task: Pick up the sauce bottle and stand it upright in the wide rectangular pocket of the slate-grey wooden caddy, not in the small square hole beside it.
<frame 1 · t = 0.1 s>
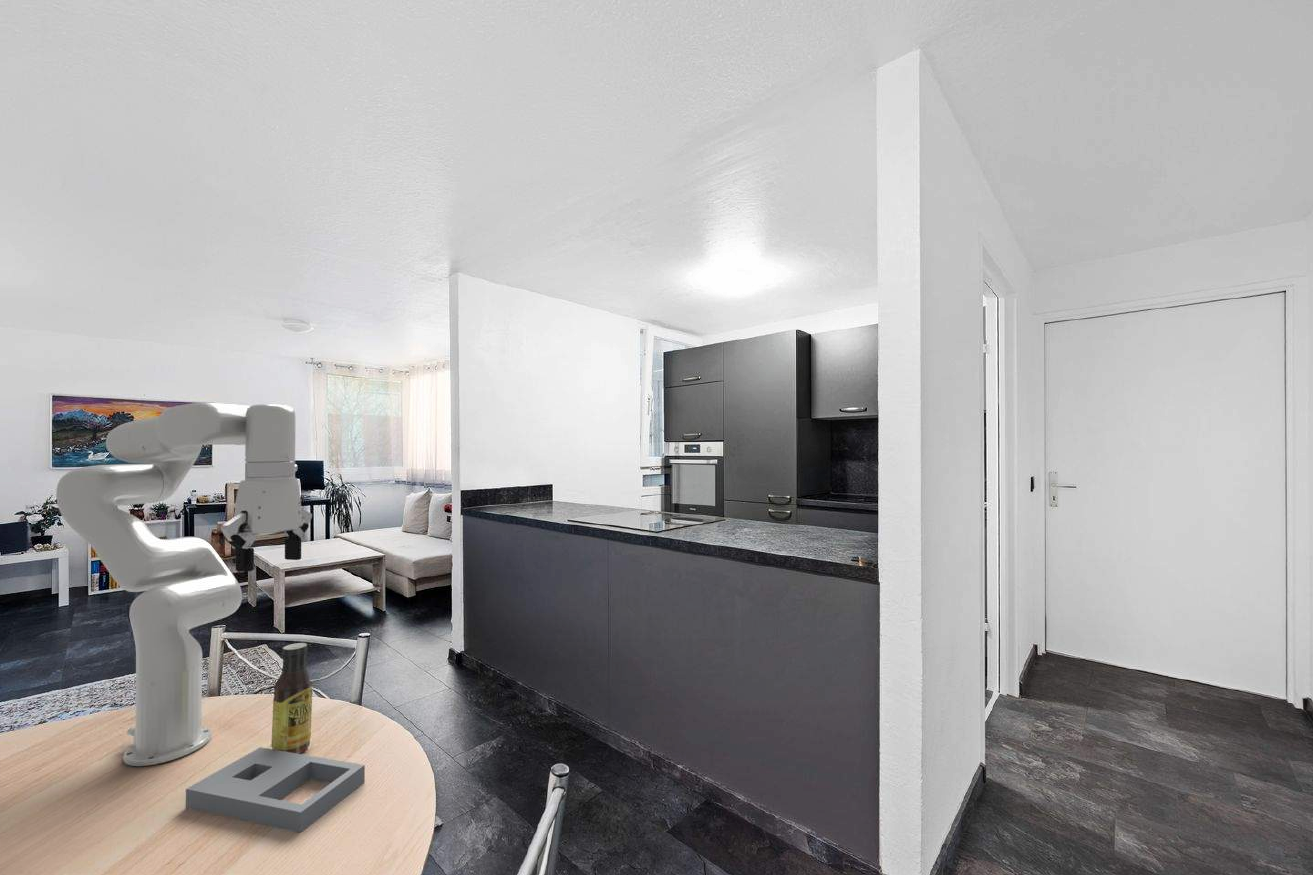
hand: (269, 564, 99), 37 cm above the table, tool pointing down, fingers open, 9 cm apart
caddy: (278, 794, 90), on the table
sauce bottle: (291, 752, 103), on the table
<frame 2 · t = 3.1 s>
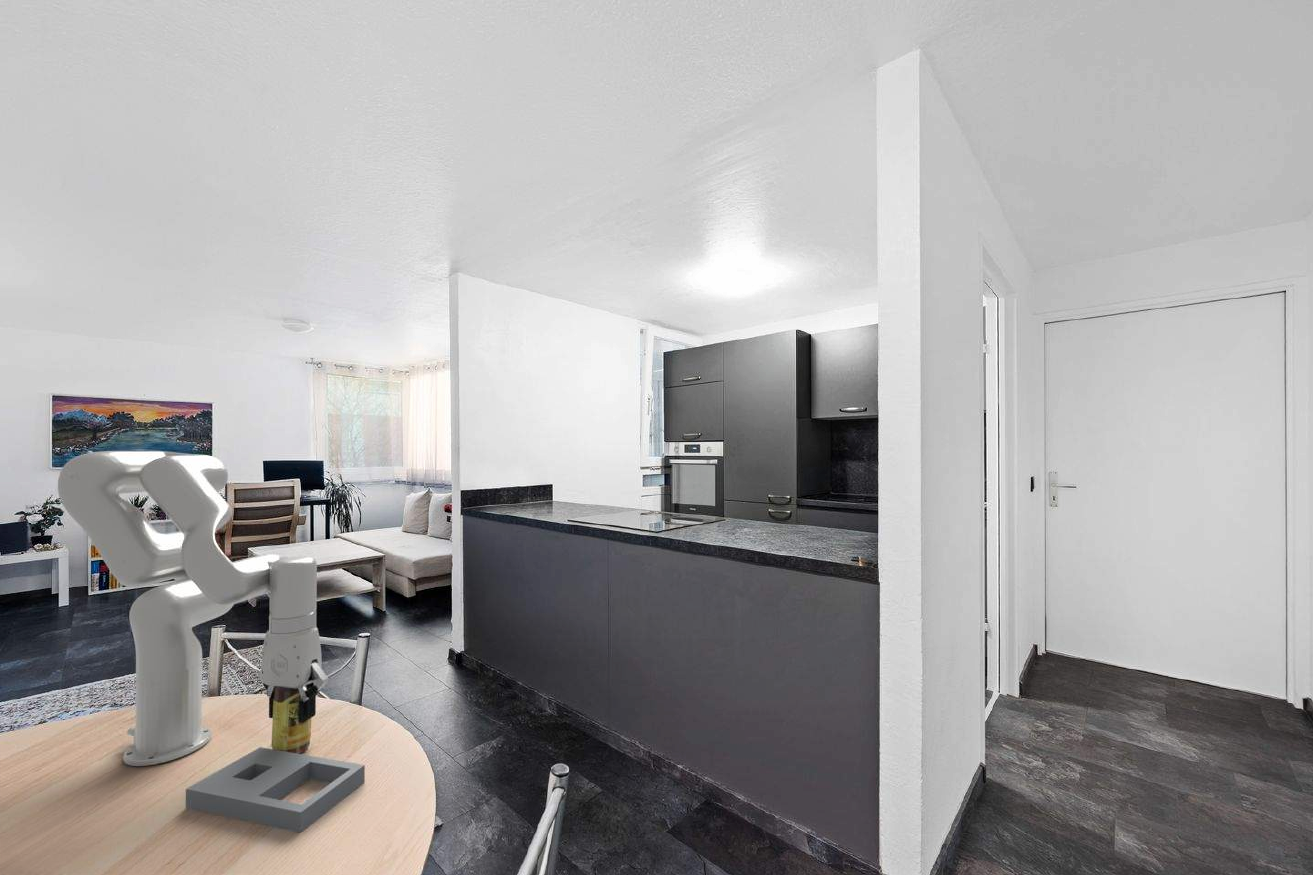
hand: (292, 715, 103), 7 cm above the table, tool pointing down, fingers closed on sauce bottle, 6 cm apart
sauce bottle: (291, 752, 103), on the table, touching gripper
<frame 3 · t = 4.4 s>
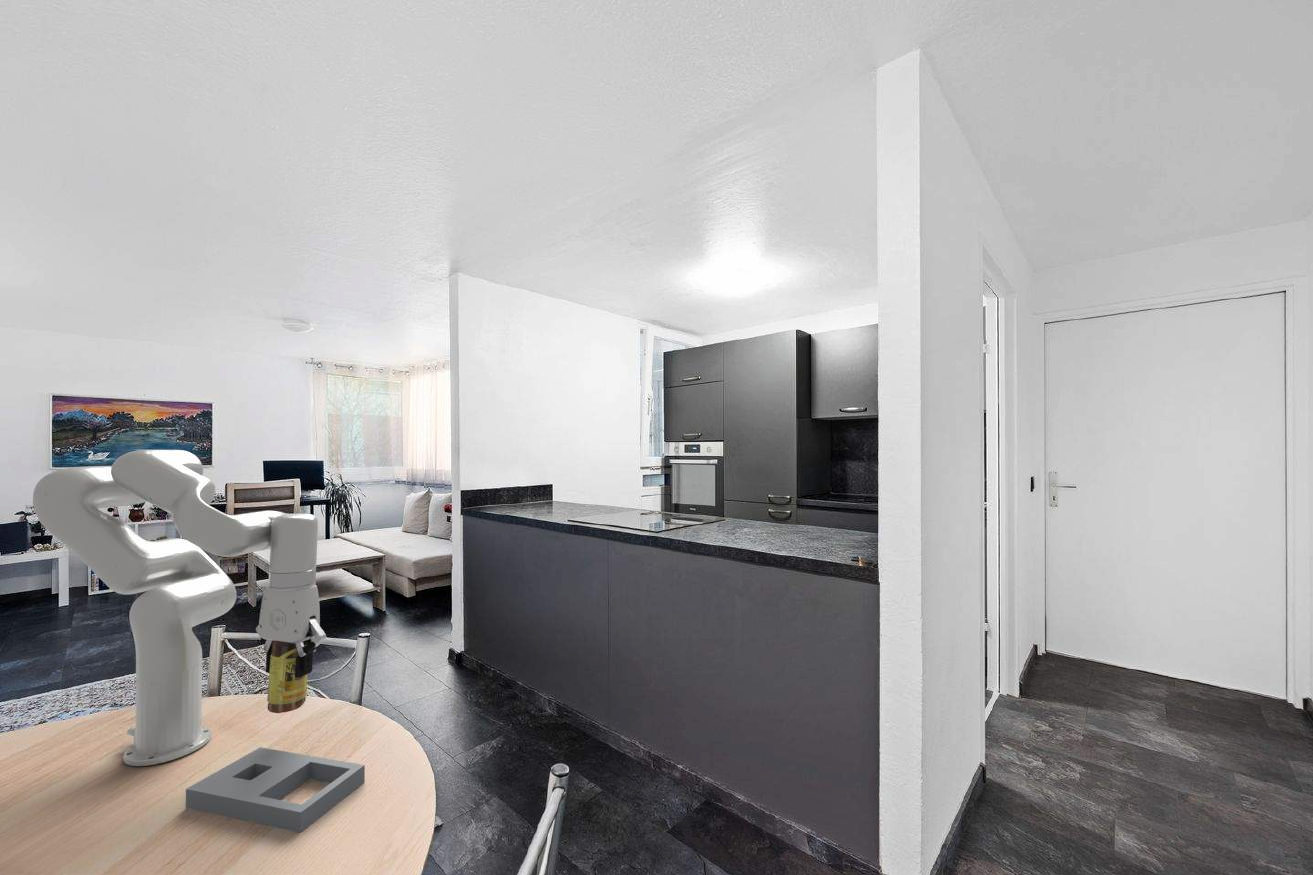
hand: (288, 671, 104), 15 cm above the table, tool pointing down, fingers closed on sauce bottle, 6 cm apart
sauce bottle: (287, 707, 103), point 8 cm above the table, touching gripper
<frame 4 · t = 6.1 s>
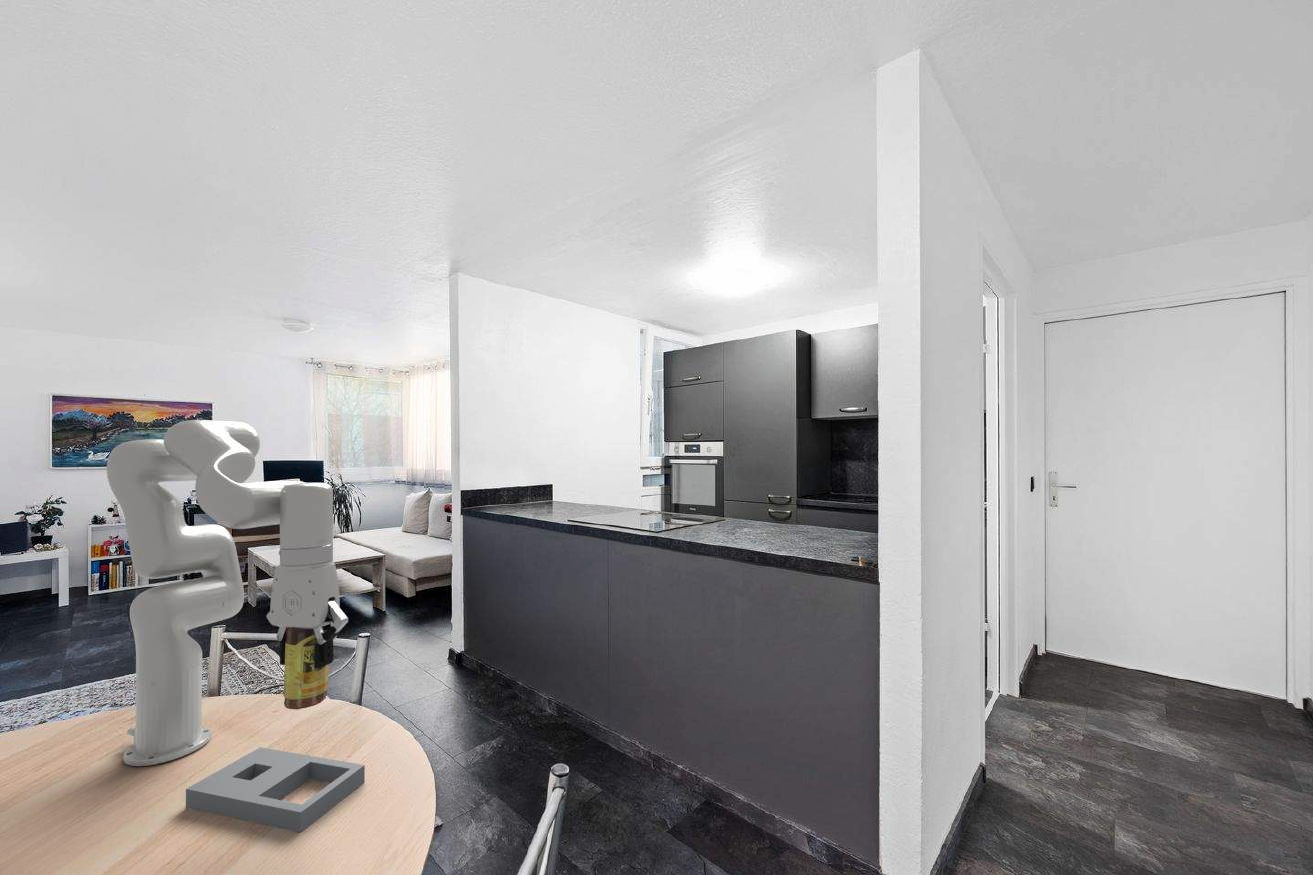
hand: (306, 662, 91), 22 cm above the table, tool pointing down, fingers closed on sauce bottle, 6 cm apart
sauce bottle: (306, 703, 90), point 15 cm above the table, touching gripper
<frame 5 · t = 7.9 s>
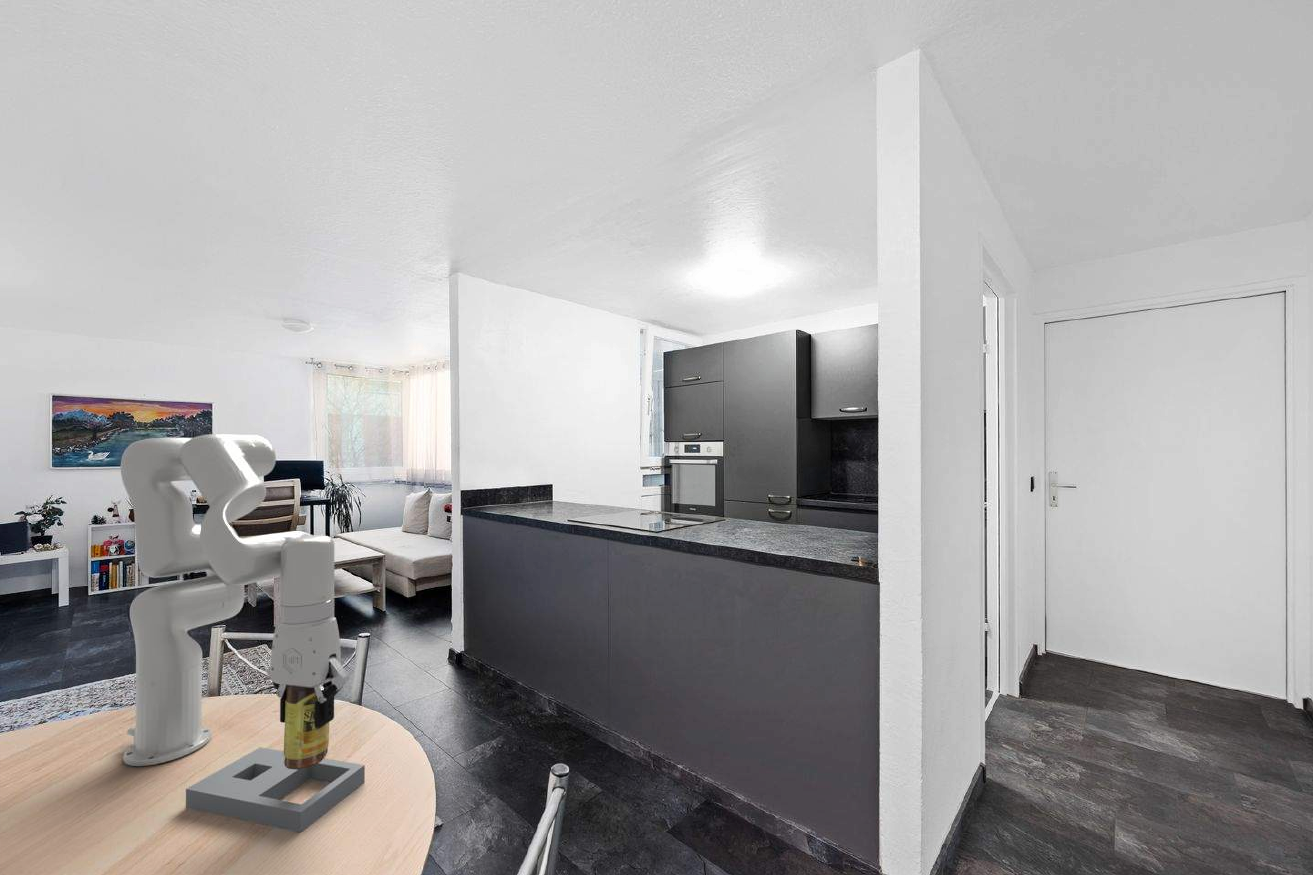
hand: (307, 719, 89), 13 cm above the table, tool pointing down, fingers closed on sauce bottle, 6 cm apart
sauce bottle: (307, 761, 89), point 6 cm above the table, touching gripper
when the fingers open (8 cm above the table, at t = 9.4 s): sauce bottle drops 1 cm, resting in caddy.
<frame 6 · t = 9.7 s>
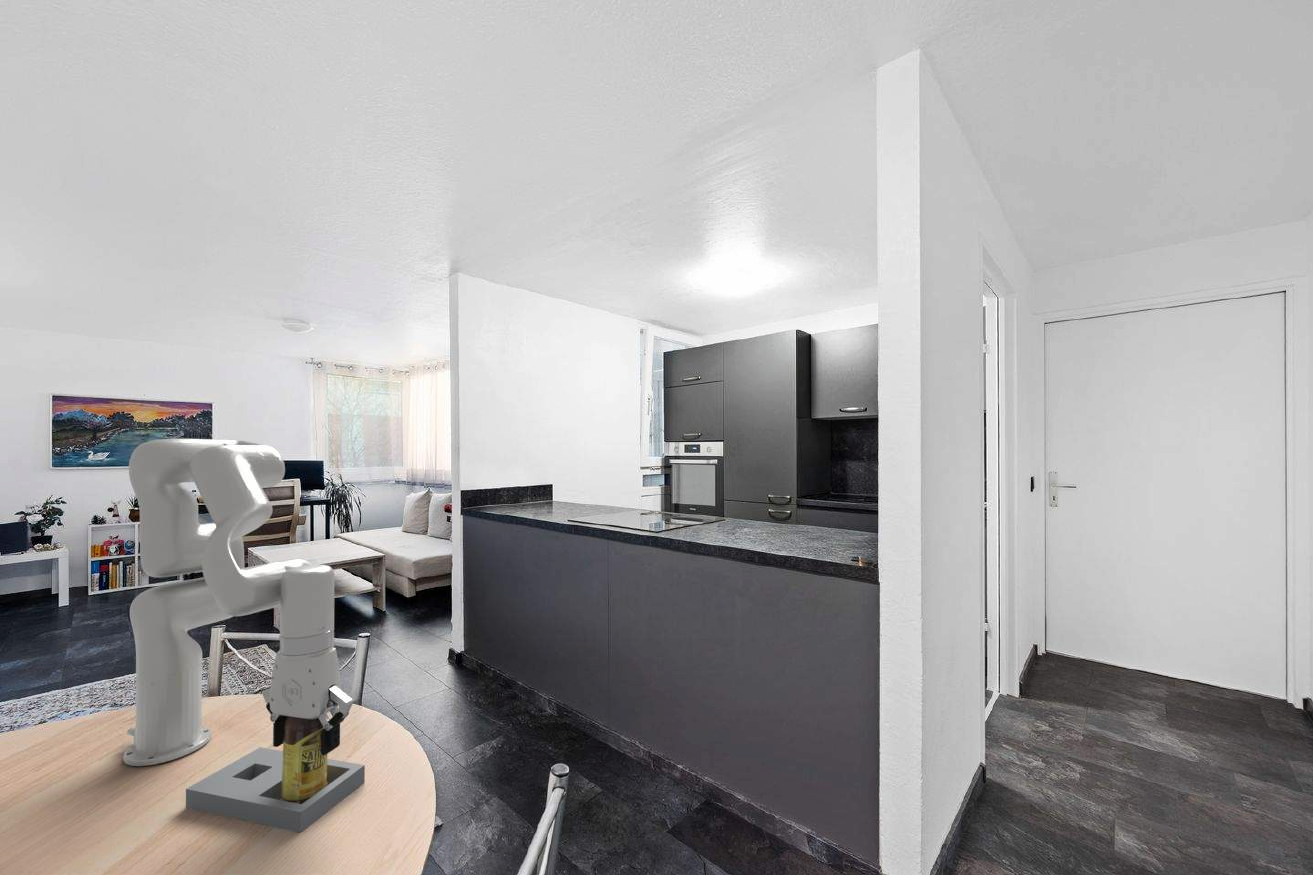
hand: (306, 746, 89), 9 cm above the table, tool pointing down, fingers open, 9 cm apart
sauce bottle: (305, 800, 89), resting in caddy
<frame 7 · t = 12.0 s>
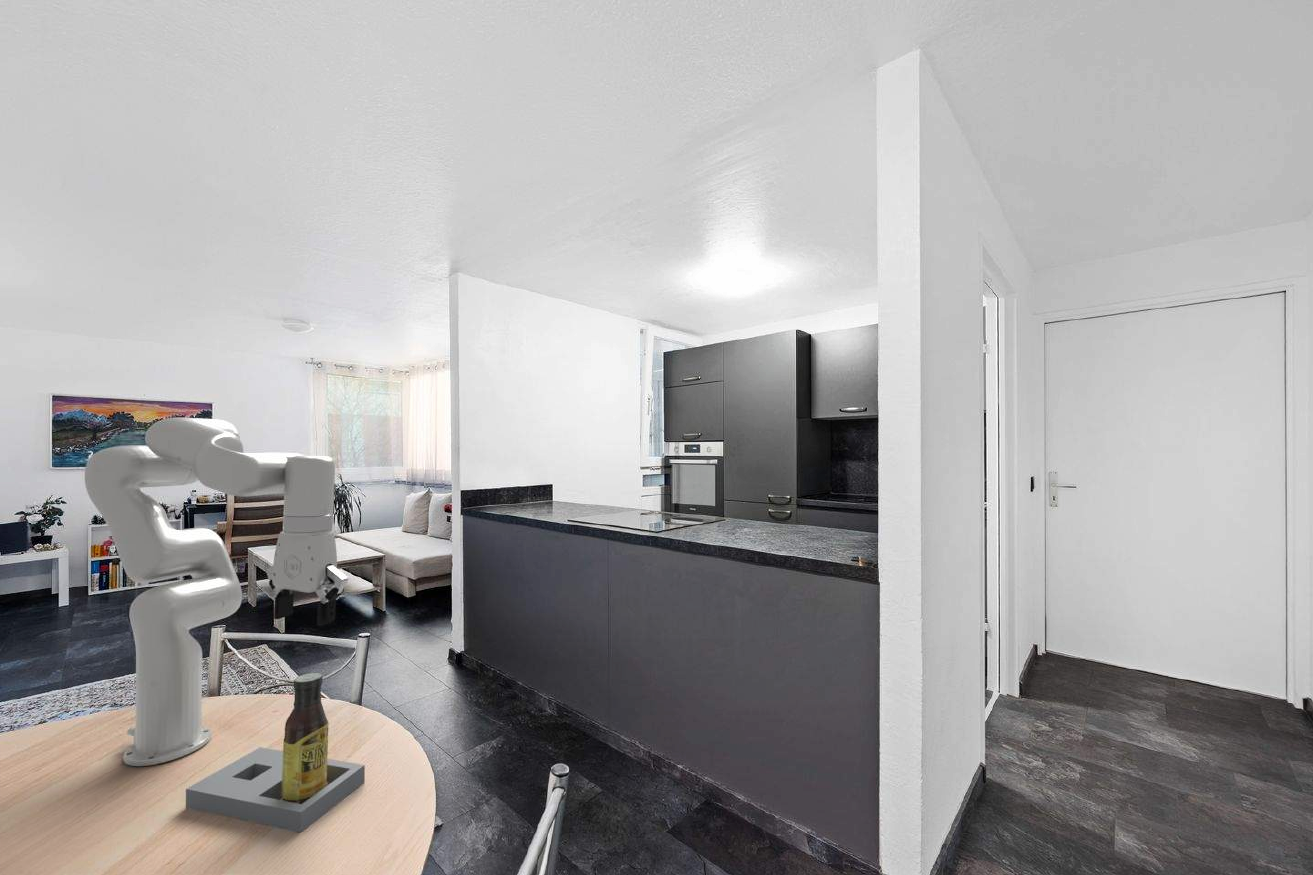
hand: (304, 620, 96), 27 cm above the table, tool pointing down, fingers open, 9 cm apart
nothing on the table moved.
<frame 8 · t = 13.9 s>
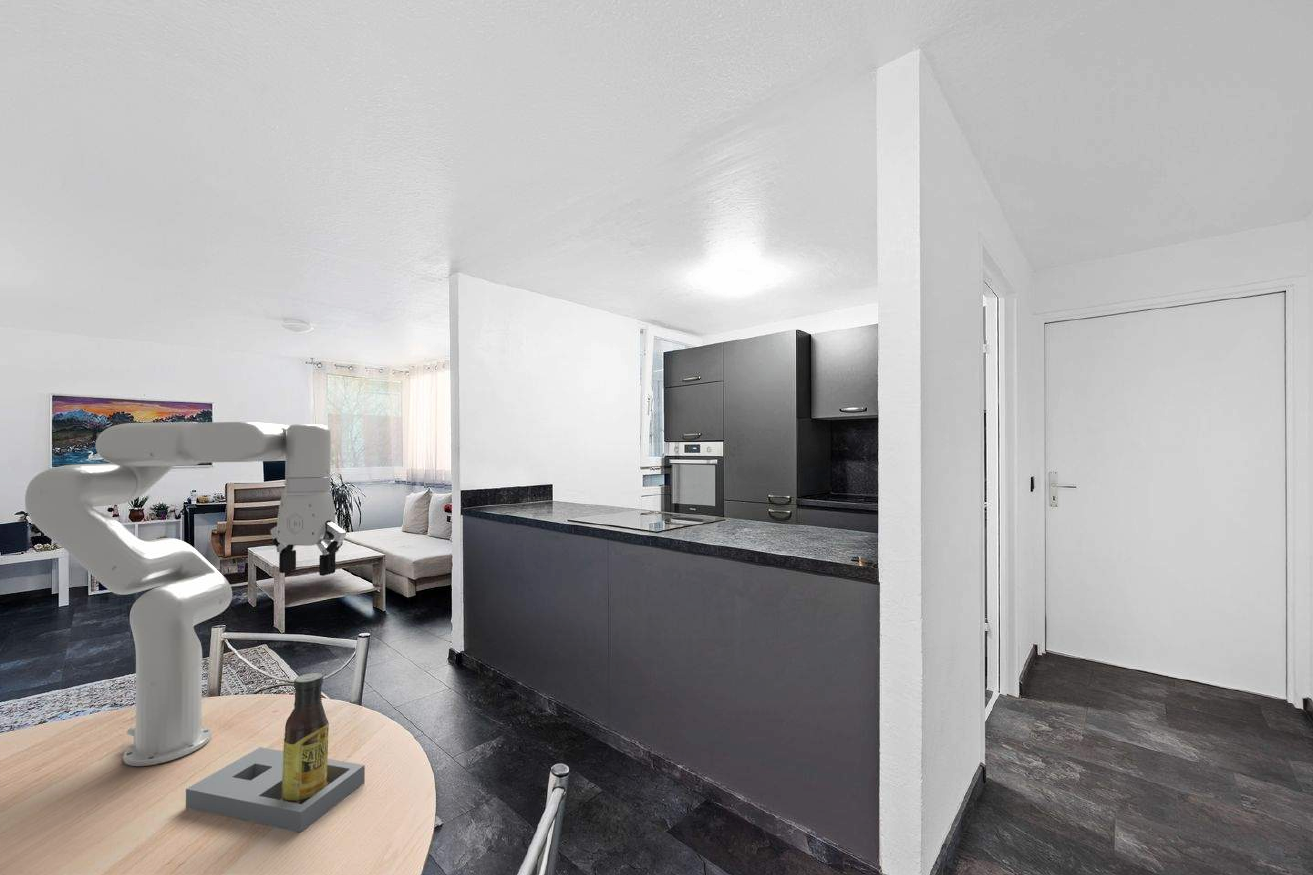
hand: (307, 572, 107), 33 cm above the table, tool pointing down, fingers open, 9 cm apart
nothing on the table moved.
at the end: sauce bottle 0.3 cm from the target spot on the caddy, point 0.0 cm above the caddy's base; sauce bottle tilted 0°; the gripper is holding nothing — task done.
